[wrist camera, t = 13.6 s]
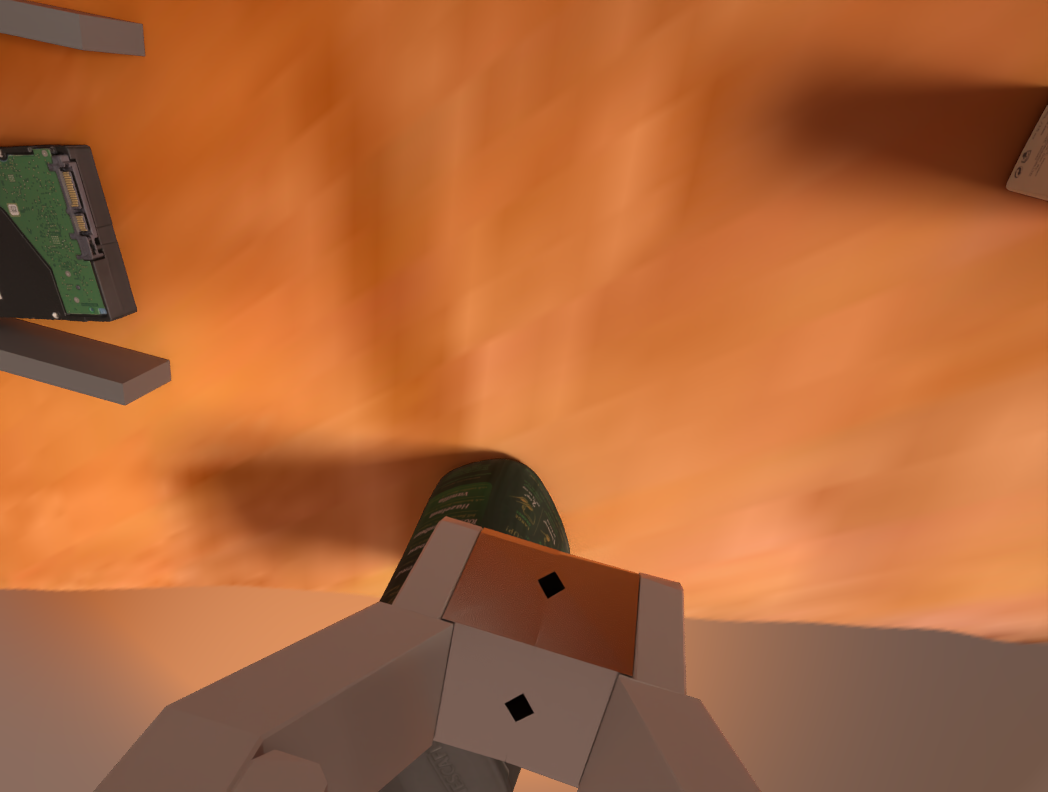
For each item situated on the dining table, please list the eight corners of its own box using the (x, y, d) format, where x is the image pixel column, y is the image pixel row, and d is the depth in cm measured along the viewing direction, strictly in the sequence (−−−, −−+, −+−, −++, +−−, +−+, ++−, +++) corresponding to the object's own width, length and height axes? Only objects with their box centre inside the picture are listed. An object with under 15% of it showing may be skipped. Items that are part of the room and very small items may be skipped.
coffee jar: (422, 470, 41) (253, 714, 25) (532, 440, 38) (426, 691, 22) (480, 586, 44) (365, 873, 28) (587, 566, 41) (530, 870, 25)
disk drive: (-32, 306, 44) (146, 310, 41) (-74, 318, 42) (111, 324, 39) (-97, 148, 40) (94, 139, 37) (-149, 151, 38) (52, 142, 34)
